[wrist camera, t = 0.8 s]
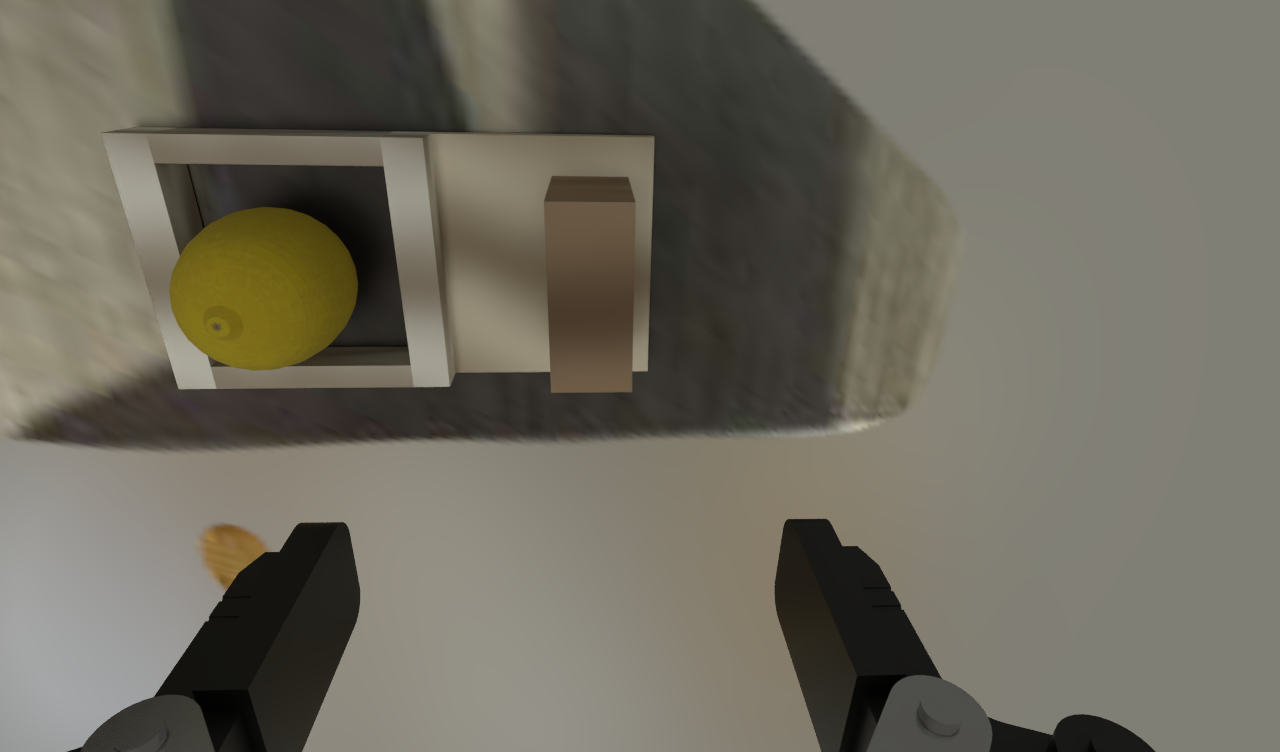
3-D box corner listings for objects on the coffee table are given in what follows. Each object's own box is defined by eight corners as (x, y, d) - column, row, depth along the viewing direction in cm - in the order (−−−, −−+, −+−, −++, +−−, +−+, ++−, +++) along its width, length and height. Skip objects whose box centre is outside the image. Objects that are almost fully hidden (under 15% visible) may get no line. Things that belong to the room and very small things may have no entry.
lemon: (390, 210, 27) (318, 266, 20) (372, 333, 30) (302, 423, 22) (245, 171, 26) (115, 217, 19) (238, 301, 29) (120, 385, 21)
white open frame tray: (135, 127, 25) (22, 146, 20) (653, 135, 27) (667, 155, 22) (203, 368, 30) (124, 433, 25) (646, 365, 31) (657, 426, 26)
